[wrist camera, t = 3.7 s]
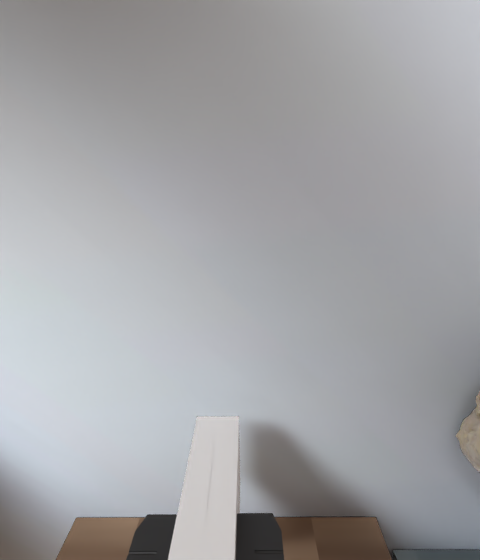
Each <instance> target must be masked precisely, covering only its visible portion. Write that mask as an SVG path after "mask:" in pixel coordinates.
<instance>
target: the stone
mask: <svg viewBox="0 0 480 560" xmlns="http://www.w3.org/2000/svg"><path fill="white" fill-rule="evenodd" d="M476 403H477V407H476V408H475V409H474V410H473V411H472V413H471V414H470V415H469V416H468V417H467V418H465V419H464V420H463V422H462V424H461V427H460V430H459V432H458V433H457V435H456V437H457V439H458V440H459V442H460V448H461V450H462V453H463V454H464V455H465V457H466V458H467V459H468V461H469V462H470V463H471V464H472V465H473V467H474V468H475V469H476V470H477V471H478V472H479V473H480V391H479V393H478V396H476Z"/></svg>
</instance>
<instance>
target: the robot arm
mask: <svg viewBox="0 0 480 560" xmlns="http://www.w3.org/2000/svg"><path fill="white" fill-rule="evenodd" d="M239 512H240V447H239V416H197V419H196V424H195V429H194V434H193V438H192V443H191V448H190V453H189V458H188V463H187V468H186V473H185V478H184V483H183V488H182V493H181V497H180V502H179V507H178V512H177V515H147V516H146V517H145V519H144V520H143V521H142V523H141V524H140V525H139V527H138V528H137V529H136V531H135V533H134V536H133V539H132V543H131V546H130V549H129V554H128V555H127V559H126V560H284V553H283V541H282V531H281V529H280V527H279V525H278V523H277V521H276V519H275V517H274V516H273V514H272V513H239Z"/></svg>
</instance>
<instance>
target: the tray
mask: <svg viewBox="0 0 480 560" xmlns="http://www.w3.org/2000/svg"><path fill="white" fill-rule="evenodd" d="M392 560H480V550H393V557H392Z"/></svg>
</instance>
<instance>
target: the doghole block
mask: <svg viewBox="0 0 480 560" xmlns="http://www.w3.org/2000/svg"><path fill="white" fill-rule="evenodd" d="M144 519H145V518H76V519H75V521H74V523H73V526H72V528H71V530H70V532H69V534H68V536H67V538H66V540H65V542H64V544H63V546H62V548H61V550H60V552H59V554H58V556H57V558H56V560H126V559H127V555H128V554H129V549H130V546H131V543H132V539H133V536H134V533H135V531H136V529H137V528H138V527H139V525H140V524H141V523H142V521H143V520H144ZM275 519H276V521H277V523H278V525H279V527H280V529H281V531H282V541H283V553H284V560H392V558H391V556H390V553H389V550H388V548H387V545H386V543H385V540H384V537H383V535H382V532H381V529H380V527H379V524H378V522H377V519H376V517H275Z"/></svg>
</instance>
